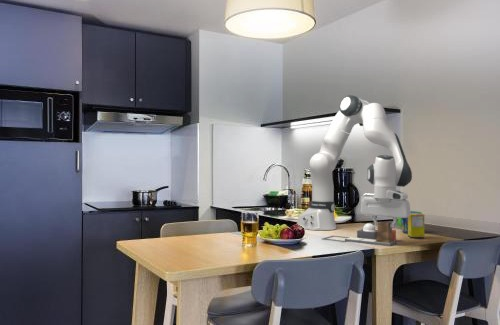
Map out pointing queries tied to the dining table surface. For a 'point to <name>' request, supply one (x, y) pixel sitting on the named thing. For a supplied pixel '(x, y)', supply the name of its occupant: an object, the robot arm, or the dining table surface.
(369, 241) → the game track
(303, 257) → the dining table surface
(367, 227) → the dome button
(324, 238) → the pad
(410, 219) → the supplement box
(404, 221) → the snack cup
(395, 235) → the red die
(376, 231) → the dome housing
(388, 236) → the brown wooden block
